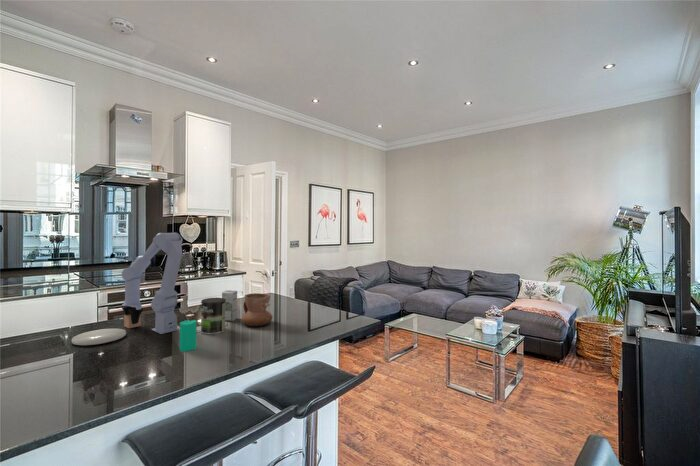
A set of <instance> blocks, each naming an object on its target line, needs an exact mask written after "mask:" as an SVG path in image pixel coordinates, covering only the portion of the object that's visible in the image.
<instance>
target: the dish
mask: <svg viewBox="0 0 700 466" xmlns="http://www.w3.org/2000/svg"><path fill="white" fill-rule="evenodd" d="M125 336H127V330H125V329H123V328H101V329H96V330H89V331H85V332H82V333H79V334H77V335H75V336H73V337H72V338H71V343H72V345H76V346H92V345H93V346H95V345H100V344H106V343H110V342H115V341H118V340H119V339H122V338H124V337H125Z"/></svg>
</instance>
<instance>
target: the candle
mask: <svg viewBox="0 0 700 466" xmlns="http://www.w3.org/2000/svg"><path fill="white" fill-rule="evenodd" d="M197 321H198V320H196V319H192V320H190V319H186V320H183V321H180V322H179V351H180V350H181V351H180V352H185V351H186V352H191V351H190V350H192V351H194V350H193V349H195V348H196V349H197V324H198V323H197ZM196 349H195V350H196Z"/></svg>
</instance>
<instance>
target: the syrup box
mask: <svg viewBox="0 0 700 466" xmlns="http://www.w3.org/2000/svg"><path fill="white" fill-rule="evenodd" d="M221 298H224V299H226V302H225V322H234V321H236V319H237V318H238V290H231V289H230V290H227V289H226V290H224V291H222V292H221Z"/></svg>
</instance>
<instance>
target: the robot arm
mask: <svg viewBox="0 0 700 466" xmlns="http://www.w3.org/2000/svg"><path fill="white" fill-rule="evenodd" d="M182 244H183V238H182V236H181V234H179V233H178V232H176V231H175V232H159V233H157V234H156V235H155V237H153V238H152V243H151V244H150V245H149V247H148V248H147V249H146V251H145V252H144V254H143V255H139V256H136V257H135V260H134V261H133V262H132V263H131V264H130V265H129V266H128V267H125V268H123V270H122V271H121V277H122V279H123V280H124V300H123V303H122V304H121V306H122V307H121V309H122V311H123V313H124V315H131V321H132V324H137V323H138V321H139V317H140V315H141V314H142V312H143V310H144V307H143V306H142V303H141V300H140V299H141V293H140V292H141V291H140V290H141V289H140V288H141V282H142V278H143V276H144V271H145V270H146V269H147V268H148V267H149V265H151V264H152V263H151V260H152V258H154V256H156V254H158V253H159V252H160V251H163V252H164V253H165V254H166V255H167V257H166V261H165V266H164V271H163V274H162V275H163V276H162V280H161V284H160V288H159V290H157V291H156V292H155V294H154V296H153V298H152V300H151V302H150V306H151V309H152V310H153V311H154V314H155V315H154V316H155V320H154V321H155V326H154V327H153V328H151V331H154V332H155V333H158V334H160V335H164V334H166V333H167V334H168V333H171V332H175V331H176V332H177V331H180V327H179V328H178V316H177V314H176V313H175V311H174V310H175V309H176V308H175V307H176V306H177V304H178V292H177V291H176V290H175V288H176V287H175V286H176V282H177V278H178V274H179V269H180V265H181V261H182V257H183V248H182Z"/></svg>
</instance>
